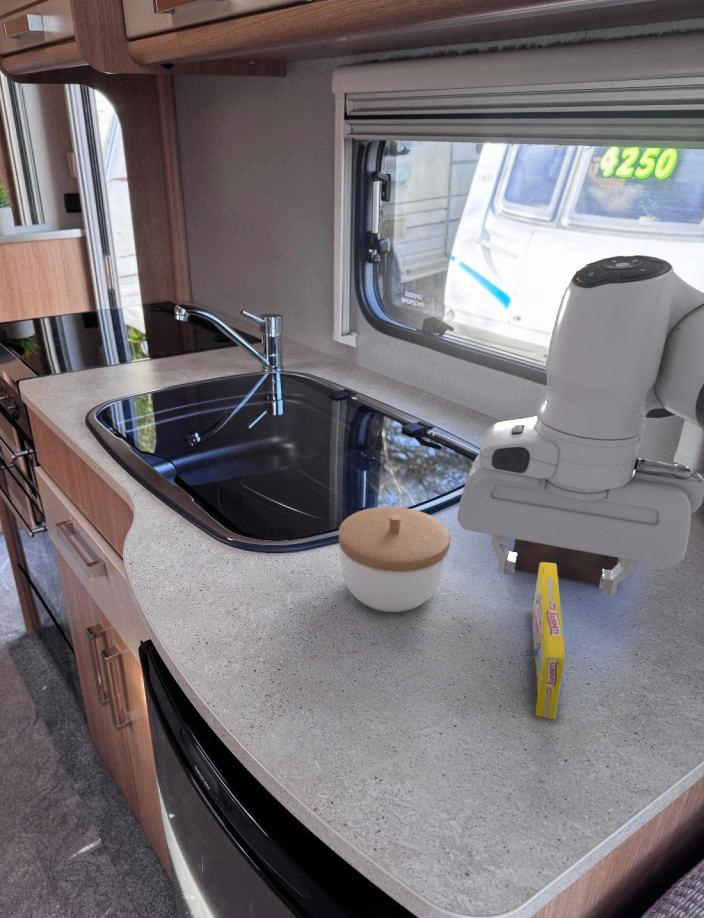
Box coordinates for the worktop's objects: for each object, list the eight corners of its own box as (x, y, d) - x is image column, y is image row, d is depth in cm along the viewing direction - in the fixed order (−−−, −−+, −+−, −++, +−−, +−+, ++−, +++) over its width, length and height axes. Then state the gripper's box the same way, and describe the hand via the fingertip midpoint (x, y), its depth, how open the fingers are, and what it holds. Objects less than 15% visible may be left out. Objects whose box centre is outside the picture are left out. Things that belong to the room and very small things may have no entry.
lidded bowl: (413, 644, 79) (421, 559, 73) (316, 606, 85) (317, 525, 79) (459, 589, 88) (469, 510, 83) (369, 558, 94) (373, 482, 89)
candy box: (528, 621, 83) (539, 560, 79) (547, 624, 82) (560, 562, 78) (531, 722, 69) (545, 655, 65) (554, 726, 68) (570, 658, 64)
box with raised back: (608, 499, 109) (623, 435, 104) (610, 593, 88) (628, 518, 83) (527, 487, 113) (537, 424, 108) (509, 574, 91) (521, 501, 86)
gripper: (707, 455, 63) (668, 585, 70) (474, 422, 69) (458, 545, 76) (717, 485, 58) (673, 622, 65) (463, 447, 64) (447, 577, 71)
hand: (555, 580), depth 70 cm, fingers open, 8 cm apart
